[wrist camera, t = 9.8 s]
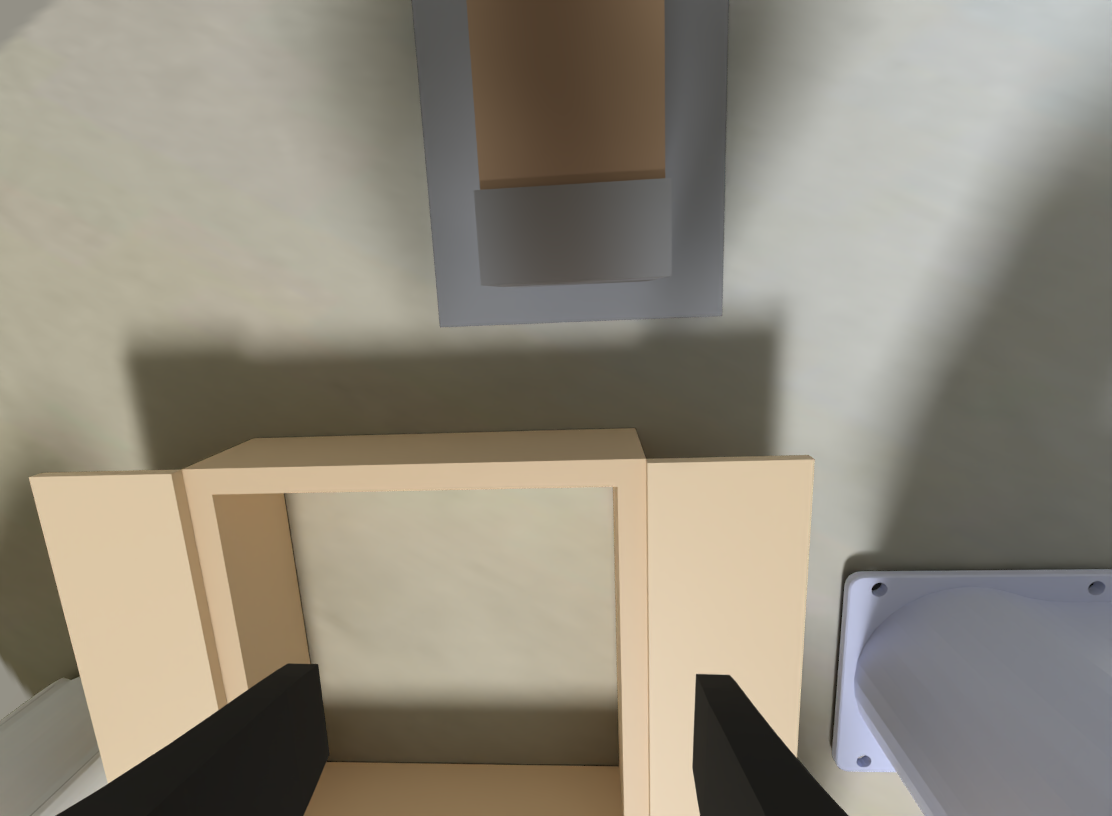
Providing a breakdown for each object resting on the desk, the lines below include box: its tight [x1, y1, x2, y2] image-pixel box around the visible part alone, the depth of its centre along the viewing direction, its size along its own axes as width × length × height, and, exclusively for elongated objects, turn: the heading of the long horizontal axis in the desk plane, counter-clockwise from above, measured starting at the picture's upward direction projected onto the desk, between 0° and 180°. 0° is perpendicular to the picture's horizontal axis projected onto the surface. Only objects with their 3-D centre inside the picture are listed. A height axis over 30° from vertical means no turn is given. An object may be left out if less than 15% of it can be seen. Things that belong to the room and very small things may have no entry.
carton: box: [29, 428, 815, 816], centre depth 18 cm, size 22×15×4 cm, turn 92°
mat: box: [412, 0, 729, 327], centre depth 16 cm, size 9×12×1 cm
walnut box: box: [466, 0, 672, 288], centre depth 13 cm, size 4×9×5 cm, turn 2°
